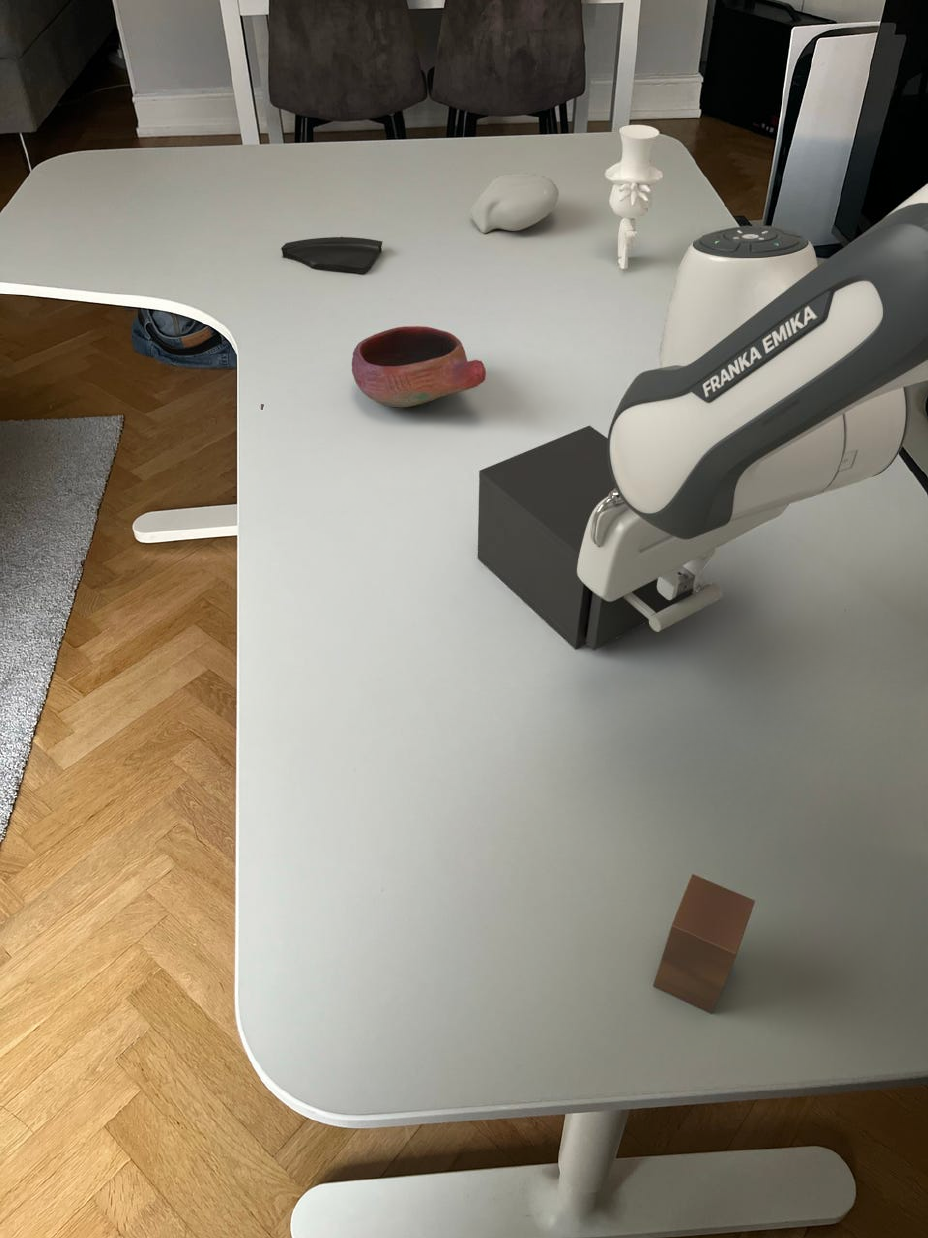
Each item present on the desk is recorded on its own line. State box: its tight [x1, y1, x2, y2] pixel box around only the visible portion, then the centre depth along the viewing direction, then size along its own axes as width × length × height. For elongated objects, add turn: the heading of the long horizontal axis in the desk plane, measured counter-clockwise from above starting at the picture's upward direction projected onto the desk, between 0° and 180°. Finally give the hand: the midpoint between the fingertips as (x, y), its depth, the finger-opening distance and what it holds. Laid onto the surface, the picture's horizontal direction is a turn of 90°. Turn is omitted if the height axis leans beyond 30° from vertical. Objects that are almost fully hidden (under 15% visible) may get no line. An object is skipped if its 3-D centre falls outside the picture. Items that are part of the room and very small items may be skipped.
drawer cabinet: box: [477, 425, 615, 650], centre depth 90 cm, size 15×13×10 cm
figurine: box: [604, 124, 664, 270], centre depth 135 cm, size 10×8×18 cm
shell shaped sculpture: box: [469, 173, 560, 234], centre depth 149 cm, size 13×13×6 cm
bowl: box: [351, 325, 487, 408], centre depth 113 cm, size 16×13×8 cm
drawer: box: [586, 576, 723, 651], centre depth 87 cm, size 18×12×8 cm, turn 35°
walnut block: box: [652, 873, 756, 1015], centre depth 63 cm, size 4×4×8 cm
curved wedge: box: [280, 236, 383, 274], centre depth 142 cm, size 8×14×2 cm, turn 74°
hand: (676, 589), depth 82 cm, fingers closed
